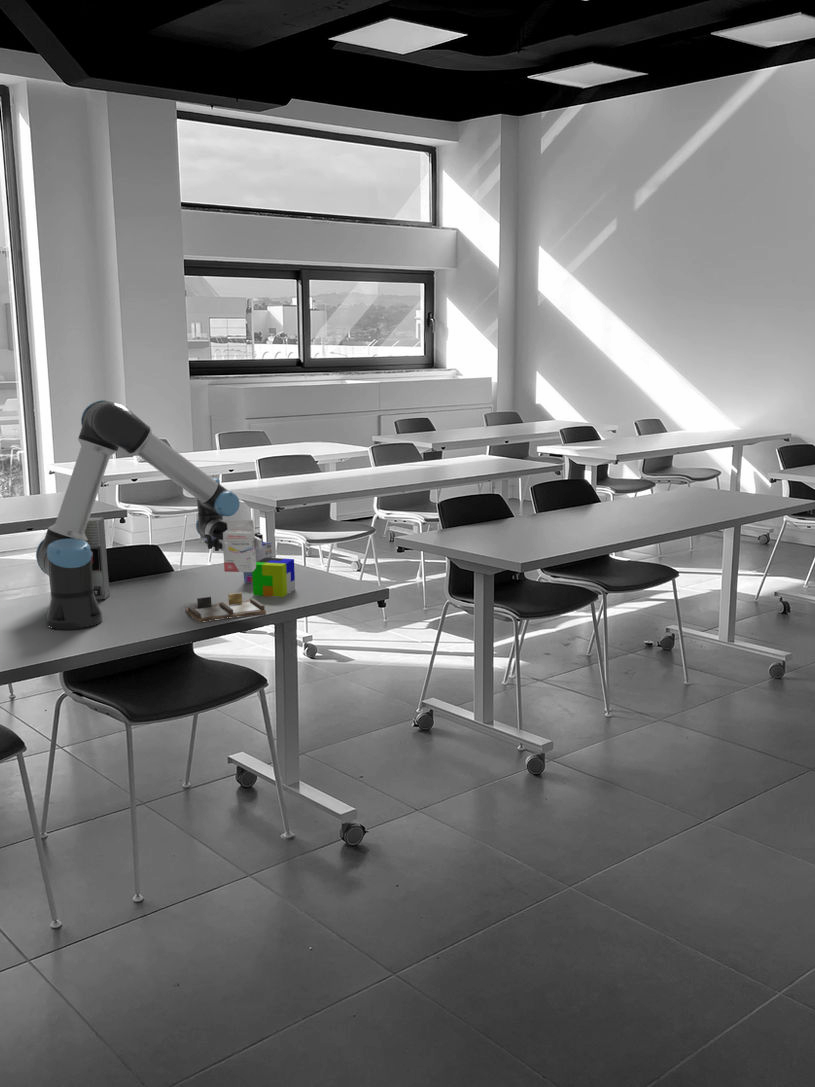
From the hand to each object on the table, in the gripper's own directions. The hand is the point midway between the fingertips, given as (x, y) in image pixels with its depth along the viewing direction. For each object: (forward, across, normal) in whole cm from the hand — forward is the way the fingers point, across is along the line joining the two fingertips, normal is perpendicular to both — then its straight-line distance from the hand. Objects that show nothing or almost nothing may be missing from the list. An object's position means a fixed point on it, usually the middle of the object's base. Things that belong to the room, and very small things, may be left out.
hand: (244, 546), depth 304 cm
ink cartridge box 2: (-39, -17, -21) cm, 48 cm away
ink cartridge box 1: (-4, 0, -8) cm, 9 cm away
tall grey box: (-44, +38, -21) cm, 62 cm away
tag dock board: (-5, +5, -20) cm, 22 cm away
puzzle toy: (-21, -16, -21) cm, 34 cm away
